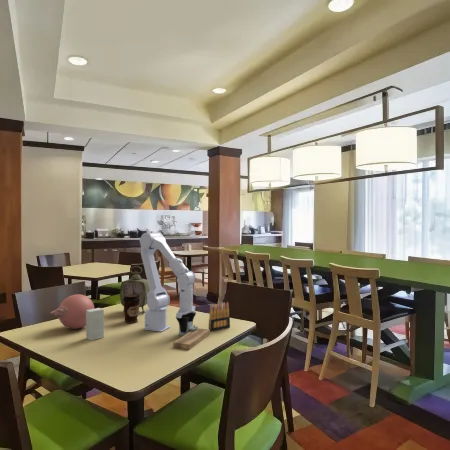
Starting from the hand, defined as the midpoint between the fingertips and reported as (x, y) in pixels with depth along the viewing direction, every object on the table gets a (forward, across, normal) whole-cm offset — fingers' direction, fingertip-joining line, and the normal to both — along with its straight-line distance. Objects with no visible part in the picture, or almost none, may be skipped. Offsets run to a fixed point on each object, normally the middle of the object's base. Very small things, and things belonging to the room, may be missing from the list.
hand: (186, 330), depth 155 cm
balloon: (+2, -13, +51) cm, 53 cm away
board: (+1, -7, -6) cm, 10 cm away
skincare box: (+2, -19, +33) cm, 38 cm away
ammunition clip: (+2, +12, -11) cm, 16 cm away
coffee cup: (+2, +7, +33) cm, 34 cm away
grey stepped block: (+1, 0, -1) cm, 2 cm away
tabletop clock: (+2, +24, +42) cm, 48 cm away
